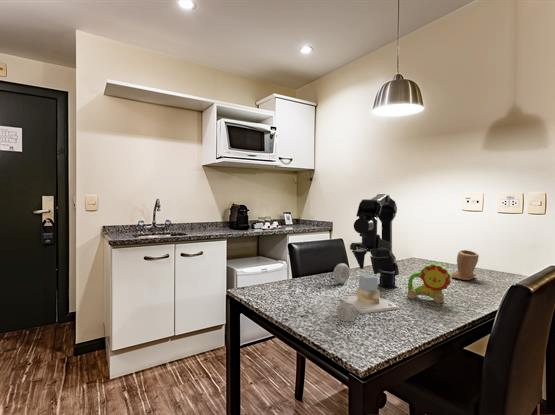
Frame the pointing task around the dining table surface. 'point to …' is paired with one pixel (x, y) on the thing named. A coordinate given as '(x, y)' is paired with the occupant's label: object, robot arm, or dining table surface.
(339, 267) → the donut
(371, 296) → the maple brick
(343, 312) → the die
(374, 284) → the slate brick
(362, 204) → the robot arm
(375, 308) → the building plate
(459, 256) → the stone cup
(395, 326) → the dining table surface
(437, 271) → the toy lion
